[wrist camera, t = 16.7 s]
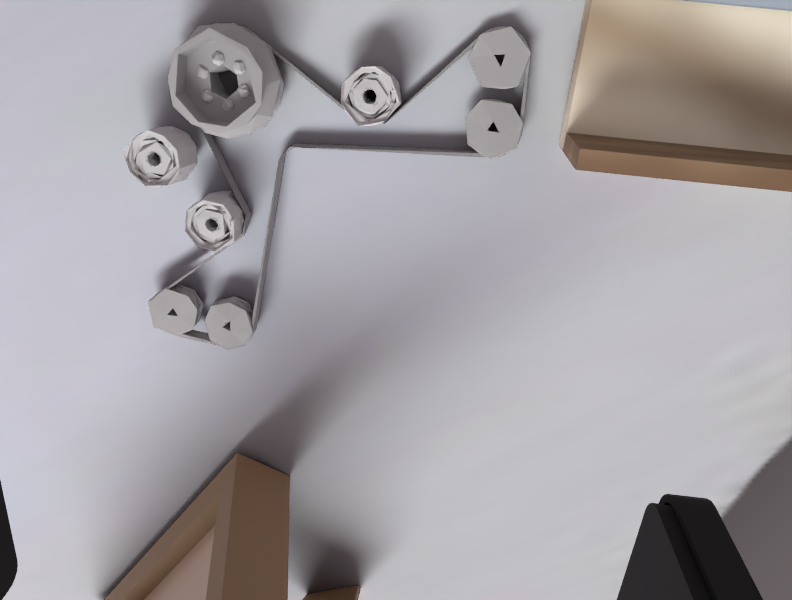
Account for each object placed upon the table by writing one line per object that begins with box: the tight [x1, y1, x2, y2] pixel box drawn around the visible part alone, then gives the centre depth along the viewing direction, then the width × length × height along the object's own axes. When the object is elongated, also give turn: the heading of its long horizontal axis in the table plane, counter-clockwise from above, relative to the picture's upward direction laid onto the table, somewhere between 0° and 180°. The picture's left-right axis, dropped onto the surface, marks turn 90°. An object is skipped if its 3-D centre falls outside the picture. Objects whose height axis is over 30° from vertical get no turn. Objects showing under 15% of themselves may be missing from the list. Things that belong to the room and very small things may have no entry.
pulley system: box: [123, 22, 531, 350], centre depth 37 cm, size 27×5×15 cm
